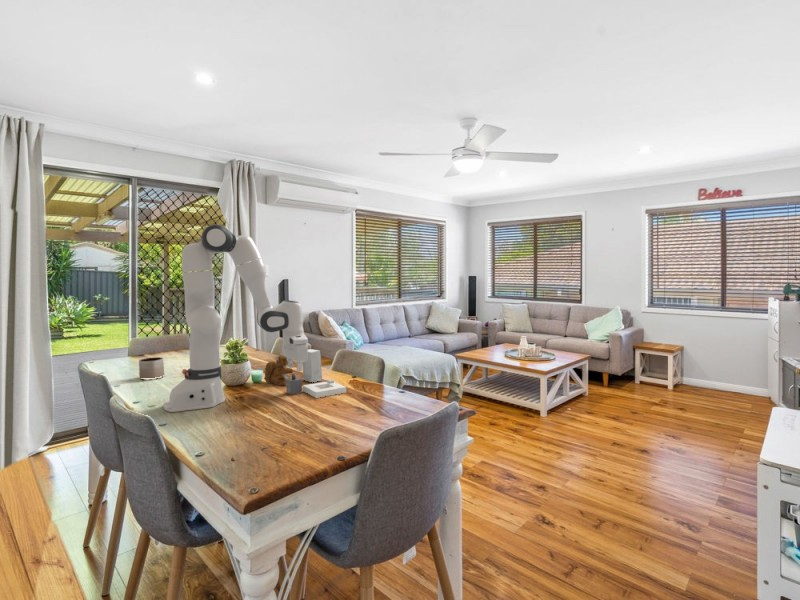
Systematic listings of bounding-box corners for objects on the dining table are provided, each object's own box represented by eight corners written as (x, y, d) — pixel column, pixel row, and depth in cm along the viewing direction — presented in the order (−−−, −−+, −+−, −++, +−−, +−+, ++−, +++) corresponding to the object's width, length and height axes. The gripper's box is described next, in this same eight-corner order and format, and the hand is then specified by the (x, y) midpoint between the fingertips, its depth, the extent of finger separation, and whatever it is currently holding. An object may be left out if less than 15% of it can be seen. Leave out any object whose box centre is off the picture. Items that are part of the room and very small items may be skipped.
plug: (290, 395, 189) (290, 376, 188) (286, 392, 193) (286, 374, 193) (301, 393, 192) (301, 374, 191) (297, 390, 196) (297, 372, 195)
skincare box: (322, 381, 212) (321, 350, 211) (311, 383, 208) (310, 352, 207) (312, 378, 218) (312, 348, 217) (302, 380, 214) (301, 349, 213)
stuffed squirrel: (286, 385, 204) (286, 357, 204) (258, 384, 207) (257, 356, 206) (296, 380, 214) (295, 353, 213) (269, 379, 217) (268, 353, 216)
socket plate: (316, 398, 183) (316, 390, 183) (302, 391, 195) (302, 383, 195) (346, 392, 191) (346, 385, 191) (331, 386, 203) (331, 379, 203)
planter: (134, 380, 219) (133, 360, 219) (152, 375, 230) (151, 356, 229) (151, 381, 216) (150, 361, 215) (169, 376, 226) (168, 357, 226)
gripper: (277, 335, 198) (279, 366, 199) (295, 341, 181) (297, 374, 182) (291, 334, 201) (293, 364, 202) (309, 339, 185) (311, 372, 186)
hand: (295, 369), depth 192 cm, fingers open, 8 cm apart
